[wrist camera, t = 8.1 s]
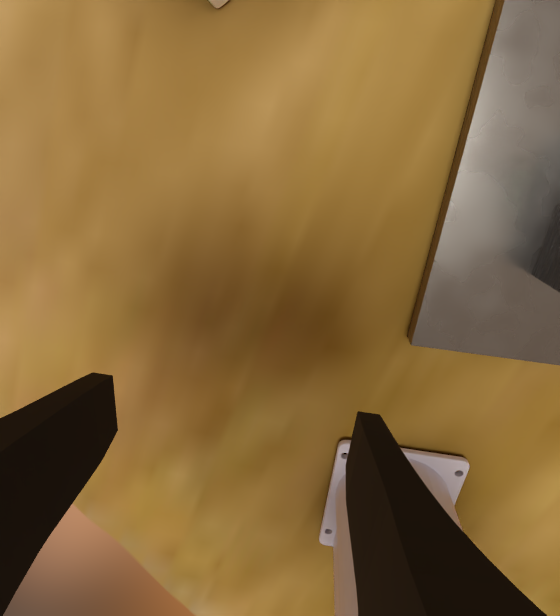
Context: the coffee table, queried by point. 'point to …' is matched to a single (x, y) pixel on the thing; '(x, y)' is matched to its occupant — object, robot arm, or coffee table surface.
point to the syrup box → (217, 3)
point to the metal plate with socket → (502, 202)
